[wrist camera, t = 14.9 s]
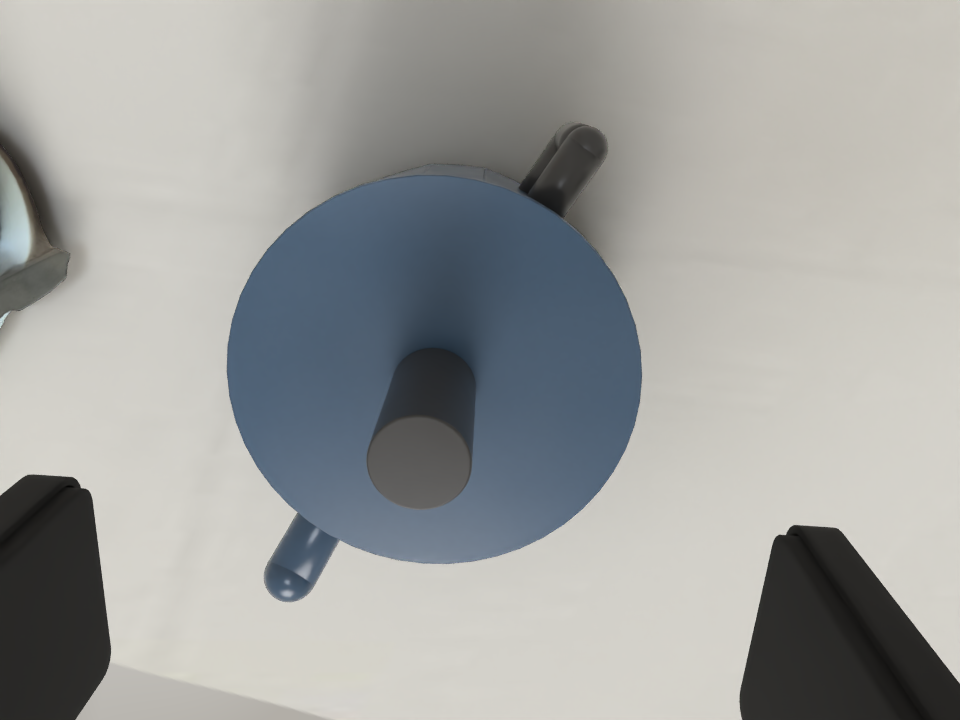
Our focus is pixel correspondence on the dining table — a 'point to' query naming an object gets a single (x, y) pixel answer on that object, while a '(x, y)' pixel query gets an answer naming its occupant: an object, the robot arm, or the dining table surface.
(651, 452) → the dining table surface
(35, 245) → the salad plate
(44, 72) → the dining table surface
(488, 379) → the teapot lid
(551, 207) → the teapot spout and handle
